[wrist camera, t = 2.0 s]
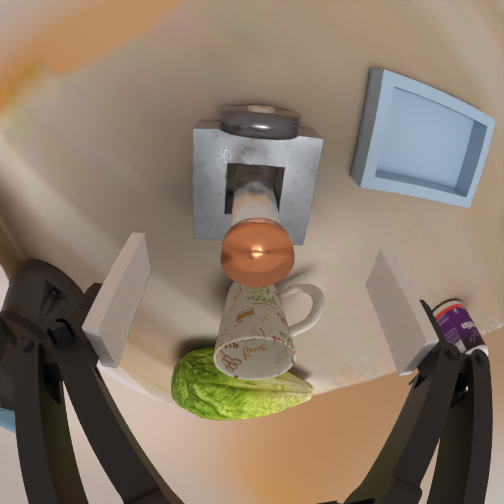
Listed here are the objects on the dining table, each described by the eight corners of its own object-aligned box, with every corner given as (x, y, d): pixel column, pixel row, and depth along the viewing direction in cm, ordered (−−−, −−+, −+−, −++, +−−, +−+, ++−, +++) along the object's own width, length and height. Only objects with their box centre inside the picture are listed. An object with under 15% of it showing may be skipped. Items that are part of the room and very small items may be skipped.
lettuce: (288, 416, 49) (325, 434, 38) (163, 403, 42) (171, 427, 31) (299, 360, 53) (338, 365, 42) (175, 337, 46) (186, 342, 34)
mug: (205, 286, 34) (196, 354, 26) (296, 238, 31) (314, 306, 22) (244, 323, 39) (244, 386, 31) (327, 284, 35) (346, 350, 27)
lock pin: (230, 191, 27) (220, 285, 17) (232, 152, 25) (221, 226, 14) (271, 194, 27) (288, 288, 17) (276, 155, 25) (300, 231, 14)
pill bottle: (467, 304, 39) (501, 366, 28) (437, 332, 43) (465, 395, 32) (449, 292, 37) (488, 363, 25) (416, 324, 41) (446, 395, 29)
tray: (349, 175, 26) (359, 187, 24) (369, 68, 20) (383, 69, 17) (455, 196, 27) (469, 208, 25) (478, 113, 21) (495, 120, 18)
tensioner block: (199, 217, 29) (189, 255, 24) (201, 99, 22) (187, 108, 17) (296, 223, 29) (307, 261, 24) (315, 109, 22) (337, 122, 17)
